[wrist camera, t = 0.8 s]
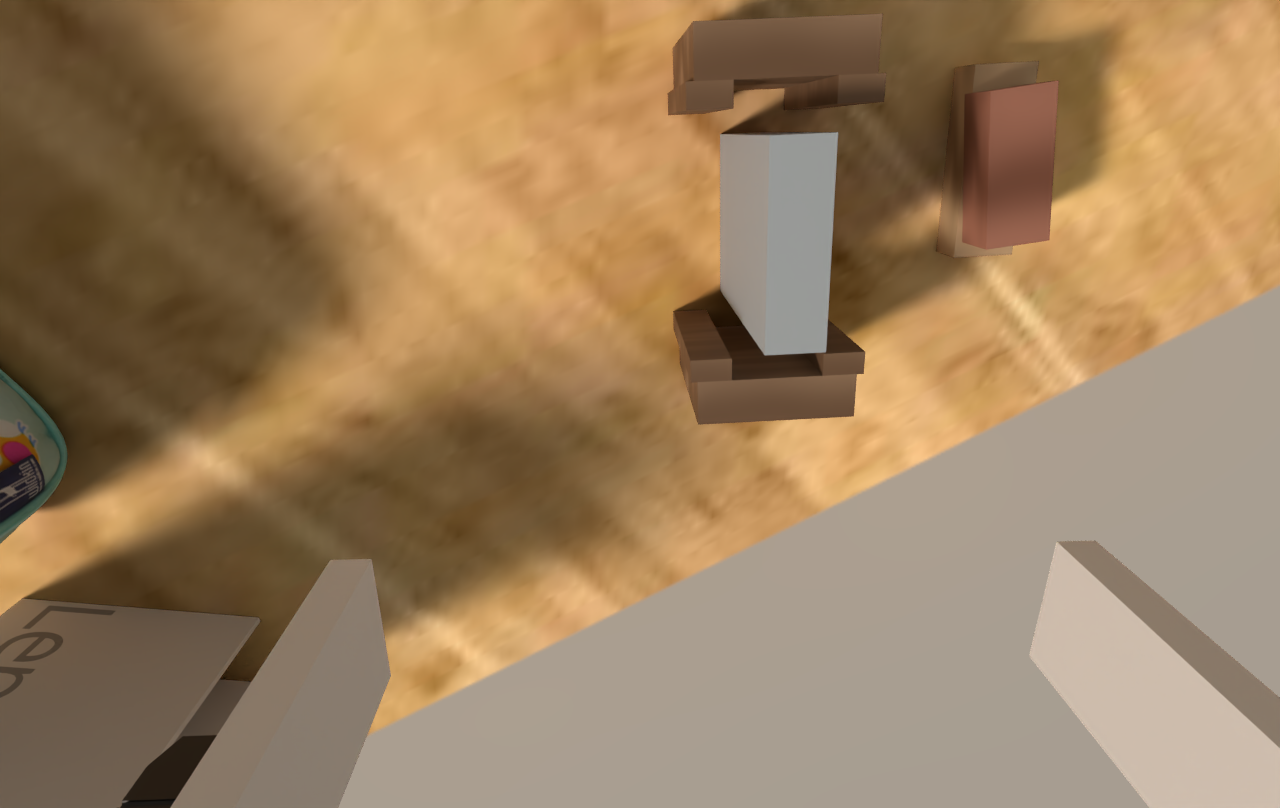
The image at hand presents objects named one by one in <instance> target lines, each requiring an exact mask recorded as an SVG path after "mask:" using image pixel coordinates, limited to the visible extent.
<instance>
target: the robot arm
mask: <svg viewBox="0 0 1280 808" xmlns="http://www.w3.org/2000/svg"><path fill="white" fill-rule="evenodd" d="M1029 656H1030V658H1031V659H1032V660H1033V661H1034V663H1035V664H1036V665H1037V666H1038V668H1039V669H1040V670H1041V671H1042V673H1043V674H1044V675H1045V676H1046V678H1047V679H1048V680H1049V681H1050V683H1051V684H1052V685H1053V687H1054V688H1055V689H1056V690H1057V692H1058V693H1059V694H1060V695H1061V697H1062V698H1063V699H1064V700H1065V702H1066V703H1067V704H1068V705H1069V707H1070V708H1071V709H1072V710H1073V712H1074V713H1075V714H1076V716H1077V717H1078V718H1079V719H1080V720H1081V722H1082V723H1083V724H1084V726H1085V727H1086V728H1087V729H1088V731H1089V732H1090V733H1091V734H1092V735H1093V737H1094V738H1095V739H1096V741H1097V742H1098V743H1099V745H1101V747H1102V748H1103V750H1104V751H1105V752H1106V753H1107V755H1108V756H1109V757H1110V758H1111V760H1112V761H1113V762H1114V763H1115V764H1116V766H1117V767H1118V768H1119V770H1120V771H1121V772H1122V774H1123V775H1124V776H1125V777H1126V779H1127V780H1128V781H1129V782H1130V784H1131V785H1132V786H1133V787H1134V789H1135V790H1136V791H1137V792H1138V794H1139V795H1140V796H1141V797H1142V799H1143V800H1144V801H1145V802H1146V804H1147V805H1148V806H1149V808H1280V697H1278V696H1277V695H1276V694H1275V693H1274V692H1272V691H1271V690H1270V689H1269V688H1268V687H1267V686H1265V685H1264V684H1263V683H1262V682H1261V681H1259V680H1258V679H1257V678H1256V677H1255V676H1254V675H1253V674H1251V673H1250V672H1249V671H1248V670H1246V669H1245V668H1244V667H1243V666H1242V665H1241V664H1240V663H1238V662H1237V661H1236V660H1235V659H1234V658H1233V657H1231V656H1230V655H1229V654H1228V653H1227V652H1226V651H1224V650H1223V649H1222V648H1221V647H1220V646H1218V645H1217V644H1216V643H1215V642H1214V641H1212V640H1211V639H1210V638H1209V637H1208V636H1207V635H1206V634H1204V633H1203V632H1202V631H1201V630H1200V629H1198V628H1197V627H1196V626H1195V625H1194V624H1193V623H1191V622H1190V621H1189V620H1188V619H1187V618H1186V617H1184V616H1183V615H1182V614H1181V613H1179V612H1178V611H1177V610H1176V609H1175V608H1174V607H1173V606H1171V605H1170V604H1169V603H1168V602H1167V601H1166V600H1164V599H1163V598H1162V597H1161V596H1160V595H1159V594H1157V593H1156V592H1155V591H1154V590H1153V589H1151V588H1150V587H1149V586H1148V585H1147V584H1146V583H1144V582H1143V581H1142V580H1141V579H1140V578H1139V577H1137V576H1136V575H1135V574H1134V573H1133V572H1132V571H1130V570H1129V569H1128V568H1127V567H1126V566H1124V565H1123V564H1122V563H1121V562H1120V561H1118V560H1117V559H1116V558H1115V557H1114V556H1113V555H1111V554H1110V553H1109V552H1108V551H1107V550H1106V549H1104V548H1103V547H1102V546H1101V545H1099V543H1097V542H1096V541H1065V542H1057V543H1056V547H1055V551H1054V555H1053V559H1052V564H1051V568H1050V572H1049V576H1048V580H1047V584H1046V588H1045V593H1044V597H1043V601H1042V606H1041V609H1040V613H1039V618H1038V622H1037V626H1036V630H1035V634H1034V638H1033V643H1032V647H1031V650H1030V655H1029ZM390 676H391V674H390V668H389V662H388V656H387V650H386V643H385V637H384V631H383V625H382V619H381V613H380V607H379V601H378V594H377V588H376V582H375V576H374V570H373V564H372V559H345V560H330V561H329V562H328V564H327V566H326V567H325V569H324V570H323V572H322V573H321V575H320V576H319V578H318V580H317V581H316V583H315V584H314V586H313V587H312V589H311V590H310V592H309V594H308V595H307V597H306V598H305V600H304V601H303V603H302V604H301V606H300V607H299V609H298V611H297V612H296V614H295V615H294V617H293V618H292V620H291V621H290V623H289V625H288V626H287V628H286V629H285V631H284V632H283V634H282V635H281V637H280V638H279V640H278V642H277V643H276V645H275V646H274V648H273V649H272V651H271V652H270V654H269V656H268V657H267V659H266V660H265V662H264V663H263V665H262V666H261V668H260V669H259V671H258V673H257V674H256V676H255V677H254V679H253V680H252V682H251V683H250V685H249V687H248V688H247V690H246V691H245V693H244V694H243V696H242V697H241V699H240V700H239V702H238V704H237V705H236V707H235V708H234V710H233V711H232V713H231V714H230V716H229V718H228V719H227V721H226V722H225V724H224V725H223V727H222V728H221V730H220V731H219V733H218V735H203V736H182V737H181V738H180V739H179V740H178V741H176V742H175V743H174V744H173V745H172V746H170V747H169V748H168V749H167V750H166V751H164V752H163V753H162V754H161V755H160V756H158V757H157V758H156V759H155V760H154V761H152V762H151V763H150V764H149V765H148V766H147V767H146V768H145V770H144V771H143V772H142V774H141V775H140V776H139V778H138V779H137V781H136V782H135V783H134V785H133V786H132V788H131V789H130V790H129V792H128V793H127V794H126V796H125V797H124V799H123V800H122V805H121V807H120V808H338V807H339V804H340V802H341V799H342V797H343V794H344V792H345V789H346V787H347V784H348V782H349V779H350V777H351V774H352V771H353V769H354V767H355V764H356V762H357V759H358V757H359V754H360V752H361V749H362V747H363V744H364V742H365V739H366V737H367V734H368V732H369V729H370V727H371V724H372V722H373V719H374V717H375V714H376V712H377V709H378V706H379V704H380V701H381V699H382V696H383V694H384V691H385V689H386V686H387V684H388V681H389V679H390Z"/></svg>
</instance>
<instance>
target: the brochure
mask: <svg viewBox="0 0 1280 808" xmlns="http://www.w3.org/2000/svg"><path fill="white" fill-rule="evenodd" d="M259 623H260V619H259V617H247V616H235V615H222V614H210V613H197V612H185V611H172V610H160V609H147V608H135V607H123V606H110V605H98V604H85V603H73V602H60V601H48V600H35V599H23V598H22V599H21V600H20V601H18V602H17V603H16V604H15V605H13V606H12V607H11V608H10V609H8V610H7V611H6V612H5V613H3V614H2V615H1V616H0V808H120V807H121V805H122V800H123V799H124V797H125V796H126V794H127V793H128V792H129V790H130V789H131V788H132V786H133V785H134V783H135V782H136V781H137V779H138V778H139V776H140V775H141V774H142V772H143V771H144V770H145V768H146V767H147V766H148V765H149V764H150V763H151V762H152V761H154V760H155V759H156V758H157V757H158V756H160V755H161V754H162V753H163V752H164V751H166V750H167V749H168V748H169V747H170V746H172V745H173V744H174V743H175V742H176V741H178V740H179V739H180V738H181V737H182V736H203V735H218V733H219V731H220V730H221V728H222V727H223V725H224V724H225V722H226V721H227V719H228V718H229V716H230V714H231V713H232V711H233V710H234V708H235V707H236V705H237V704H238V702H239V700H240V699H241V697H242V696H243V694H244V693H245V691H246V690H247V688H248V687H249V685H250V683H251V682H249V681H235V680H222V679H220V678H221V676H222V675H223V673H224V672H225V671H226V669H227V668H228V666H229V665H230V664H231V662H232V661H233V659H234V658H235V656H236V655H237V654H238V652H239V651H240V649H241V648H242V647H243V645H244V644H245V642H246V641H247V640H248V638H249V637H250V635H251V634H252V633H253V631H254V630H255V628H256V627H257V626H258V624H259Z"/></svg>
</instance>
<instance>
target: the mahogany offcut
mask: <svg viewBox="0 0 1280 808" xmlns="http://www.w3.org/2000/svg"><path fill="white" fill-rule="evenodd" d="M1058 83H1059V81H1050V82H1042V83H1033V84H1025V85H1019V86H1013V87H1006V88H1000V89H994V90H987V91H981V92H974V93H968V94H965V100H964V164H963V228H962V242H963V243H966V244H969V245H973V246H976V247H979V248H982V249H985V250H988V249H995V248H1001V247H1008V246H1015V245H1021V244H1028V243H1034V242H1041V241H1047V240H1049V236H1050V219H1051V202H1052V185H1053V168H1054V151H1055V134H1056V117H1057V100H1058Z"/></svg>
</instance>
